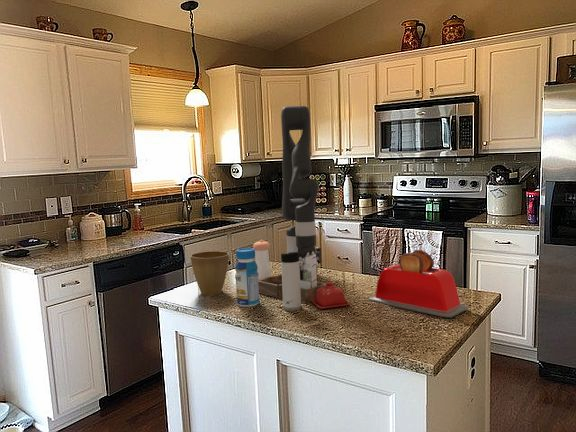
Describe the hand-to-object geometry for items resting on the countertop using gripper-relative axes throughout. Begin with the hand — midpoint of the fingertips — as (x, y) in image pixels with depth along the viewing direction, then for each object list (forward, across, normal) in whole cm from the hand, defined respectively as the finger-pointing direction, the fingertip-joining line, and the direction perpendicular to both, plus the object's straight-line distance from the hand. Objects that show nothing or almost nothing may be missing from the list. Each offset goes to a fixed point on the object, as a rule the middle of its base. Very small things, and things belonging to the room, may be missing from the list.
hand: (307, 277), depth 179 cm
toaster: (+8, +16, -36) cm, 40 cm away
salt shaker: (+8, +2, +27) cm, 28 cm away
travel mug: (+8, -13, -4) cm, 16 cm away
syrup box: (+6, 0, 0) cm, 6 cm away
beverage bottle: (+8, -19, +12) cm, 24 cm away
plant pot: (+8, -19, +34) cm, 40 cm away
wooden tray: (+8, 0, +8) cm, 11 cm away
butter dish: (+8, -2, -12) cm, 15 cm away
